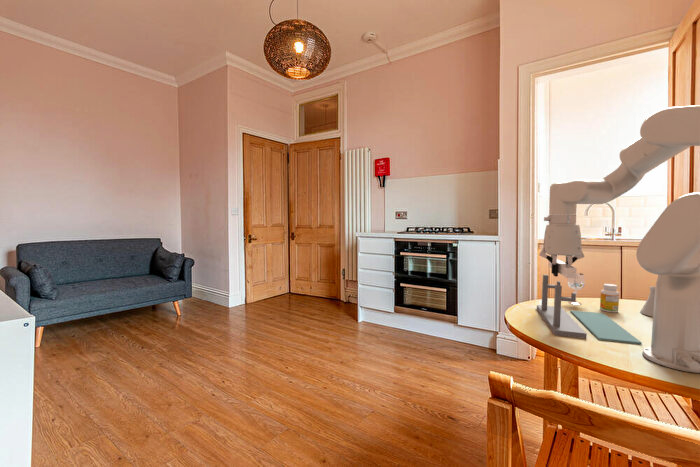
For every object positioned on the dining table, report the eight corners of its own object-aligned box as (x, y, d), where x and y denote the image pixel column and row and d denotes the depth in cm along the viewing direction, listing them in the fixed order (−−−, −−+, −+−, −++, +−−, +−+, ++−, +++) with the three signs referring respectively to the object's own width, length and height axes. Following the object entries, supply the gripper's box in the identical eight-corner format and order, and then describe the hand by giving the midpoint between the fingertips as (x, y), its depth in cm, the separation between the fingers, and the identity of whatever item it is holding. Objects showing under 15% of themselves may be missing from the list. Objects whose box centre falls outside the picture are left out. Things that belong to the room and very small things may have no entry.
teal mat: (641, 344, 92) (641, 342, 92) (598, 339, 96) (598, 337, 95) (603, 314, 118) (603, 313, 118) (570, 311, 122) (570, 310, 122)
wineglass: (584, 303, 133) (586, 273, 133) (582, 306, 129) (584, 275, 128) (568, 300, 137) (569, 271, 137) (565, 303, 133) (566, 273, 132)
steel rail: (576, 278, 98) (576, 268, 98) (566, 278, 99) (567, 268, 99) (556, 266, 120) (556, 258, 120) (548, 266, 121) (548, 258, 121)
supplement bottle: (599, 307, 127) (601, 282, 127) (617, 310, 124) (619, 284, 124) (600, 311, 123) (601, 285, 122) (618, 313, 120) (620, 287, 119)
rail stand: (586, 338, 97) (588, 291, 96) (554, 335, 99) (556, 288, 98) (561, 311, 123) (562, 273, 122) (536, 308, 126) (538, 272, 125)
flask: (673, 319, 114) (675, 290, 113) (649, 317, 116) (650, 289, 115) (658, 312, 121) (660, 285, 121) (635, 311, 123) (637, 284, 122)
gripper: (536, 220, 108) (535, 276, 109) (595, 220, 102) (593, 279, 103) (532, 220, 115) (531, 273, 116) (587, 220, 110) (585, 275, 110)
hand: (560, 275), depth 110 cm, fingers closed on steel rail, 2 cm apart
